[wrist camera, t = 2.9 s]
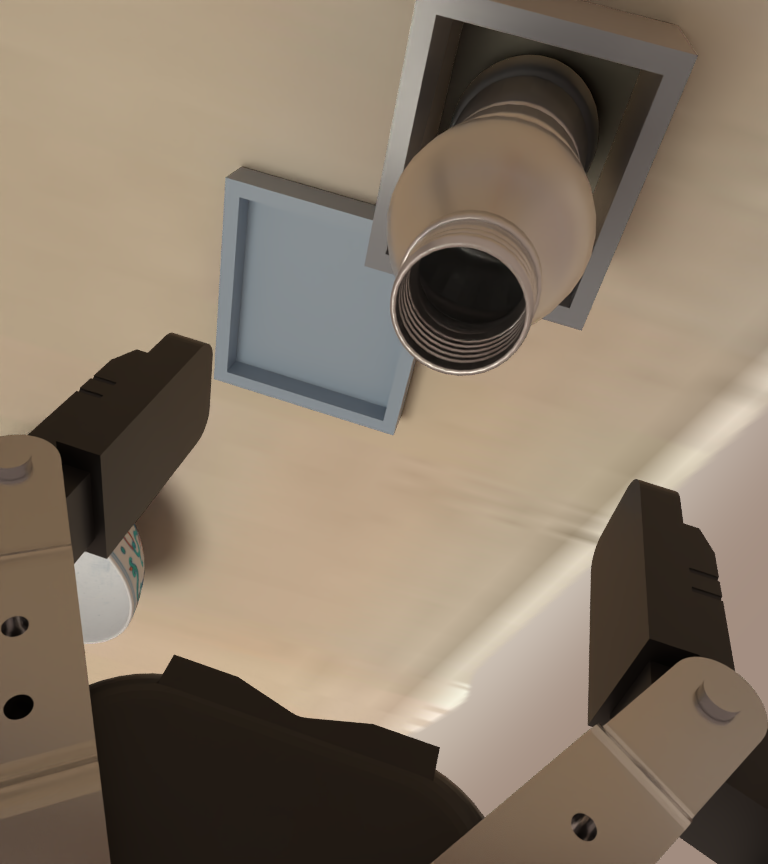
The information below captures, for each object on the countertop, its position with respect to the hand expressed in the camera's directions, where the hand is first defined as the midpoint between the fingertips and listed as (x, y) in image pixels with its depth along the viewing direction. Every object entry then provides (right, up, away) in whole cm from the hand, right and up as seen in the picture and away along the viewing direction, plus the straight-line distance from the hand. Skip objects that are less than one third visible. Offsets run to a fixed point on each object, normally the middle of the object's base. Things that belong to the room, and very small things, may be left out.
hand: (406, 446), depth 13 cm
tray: (-4, +8, +28) cm, 29 cm away
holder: (+6, +15, +20) cm, 26 cm away
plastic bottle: (+6, +15, +20) cm, 26 cm away
